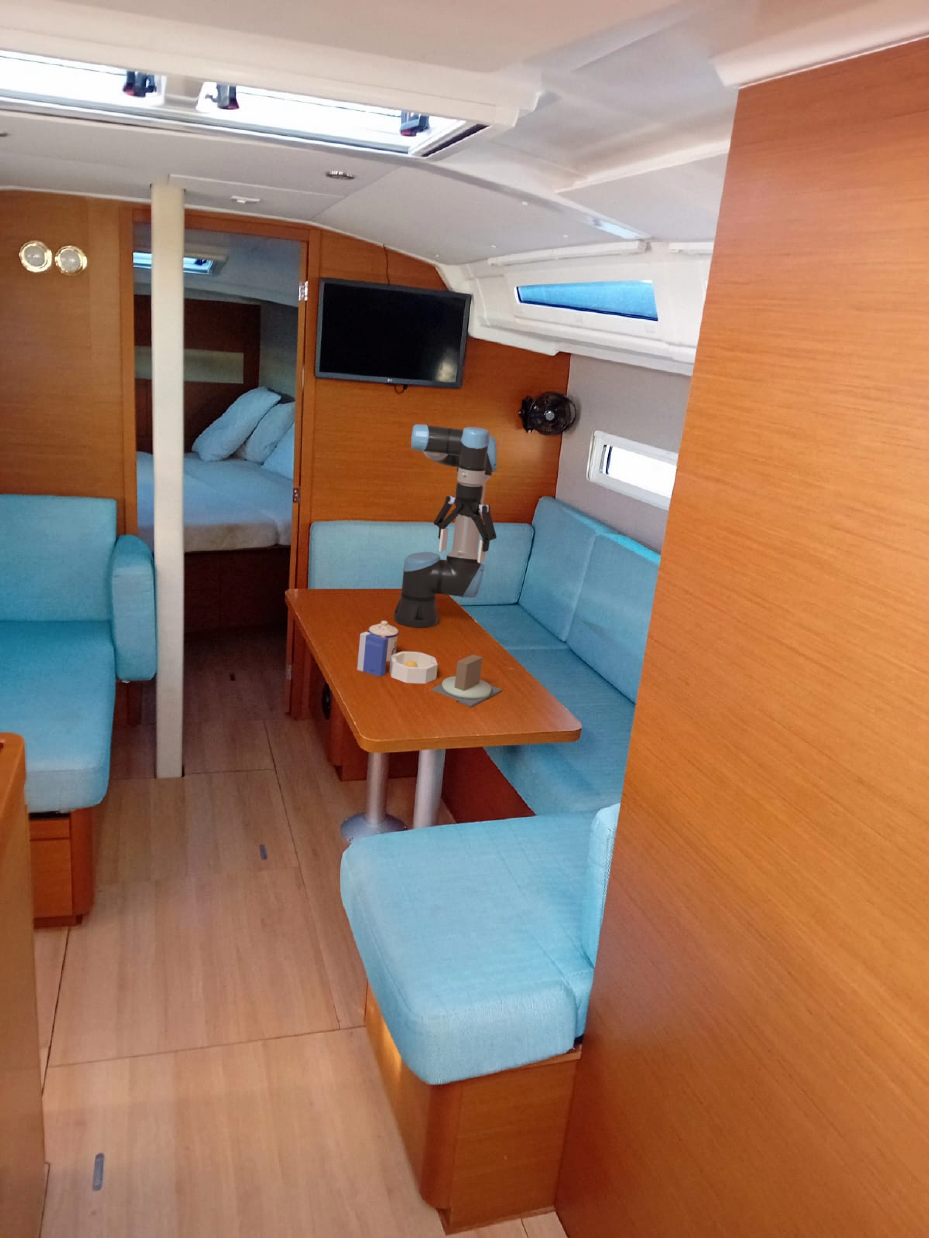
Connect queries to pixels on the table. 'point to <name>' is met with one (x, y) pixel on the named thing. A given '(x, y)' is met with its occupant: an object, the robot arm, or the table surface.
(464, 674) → the lid
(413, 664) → the clementine
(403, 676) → the bowl
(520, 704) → the table surface
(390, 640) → the teacup with lid
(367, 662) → the walkman
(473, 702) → the mat
